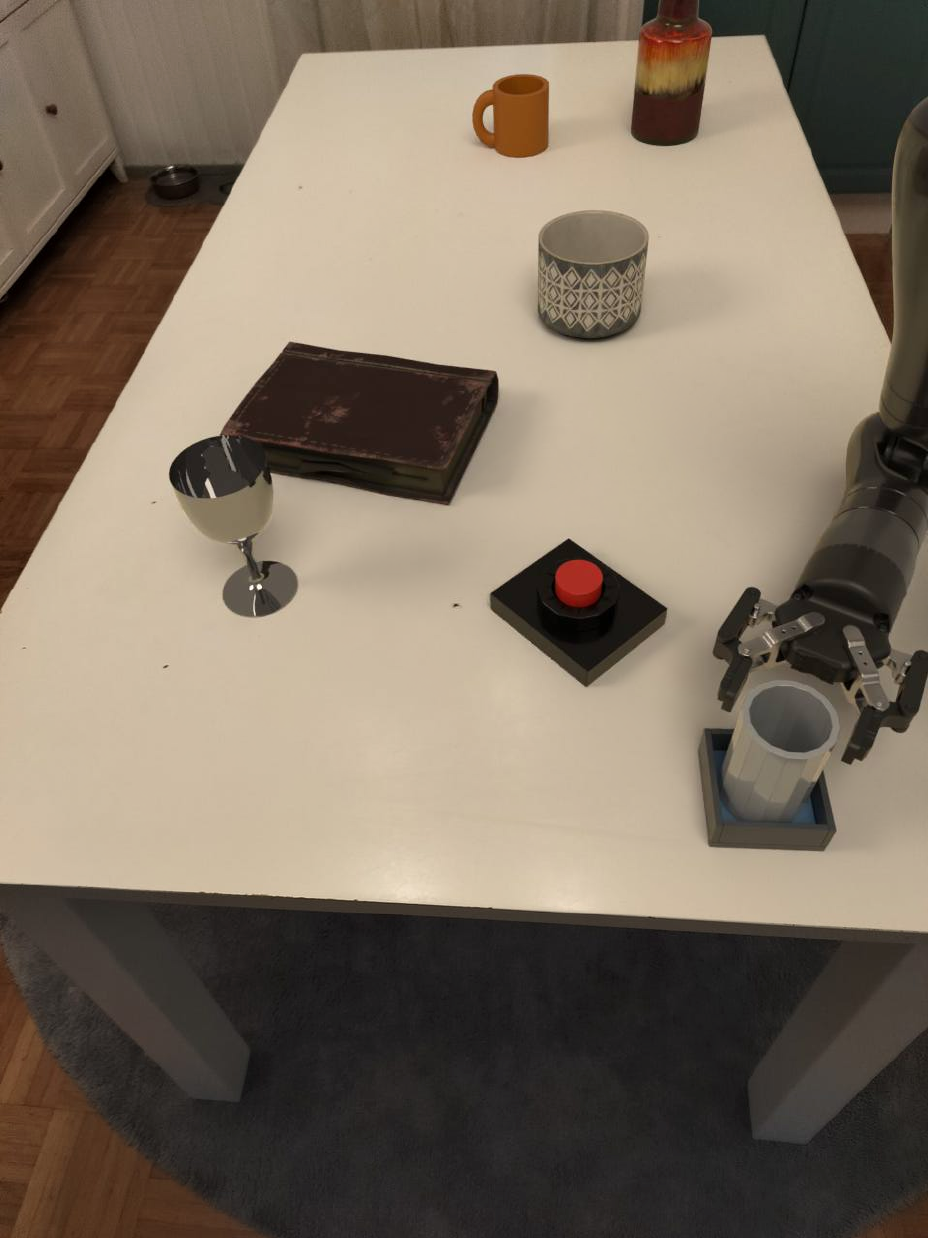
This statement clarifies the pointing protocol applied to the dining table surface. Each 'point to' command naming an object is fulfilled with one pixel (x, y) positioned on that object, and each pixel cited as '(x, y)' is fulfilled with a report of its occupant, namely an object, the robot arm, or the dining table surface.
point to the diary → (368, 420)
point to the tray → (727, 831)
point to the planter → (591, 273)
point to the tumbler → (777, 751)
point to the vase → (671, 74)
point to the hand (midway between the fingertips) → (786, 730)
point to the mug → (515, 115)
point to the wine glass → (234, 516)
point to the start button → (578, 583)
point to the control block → (578, 615)
